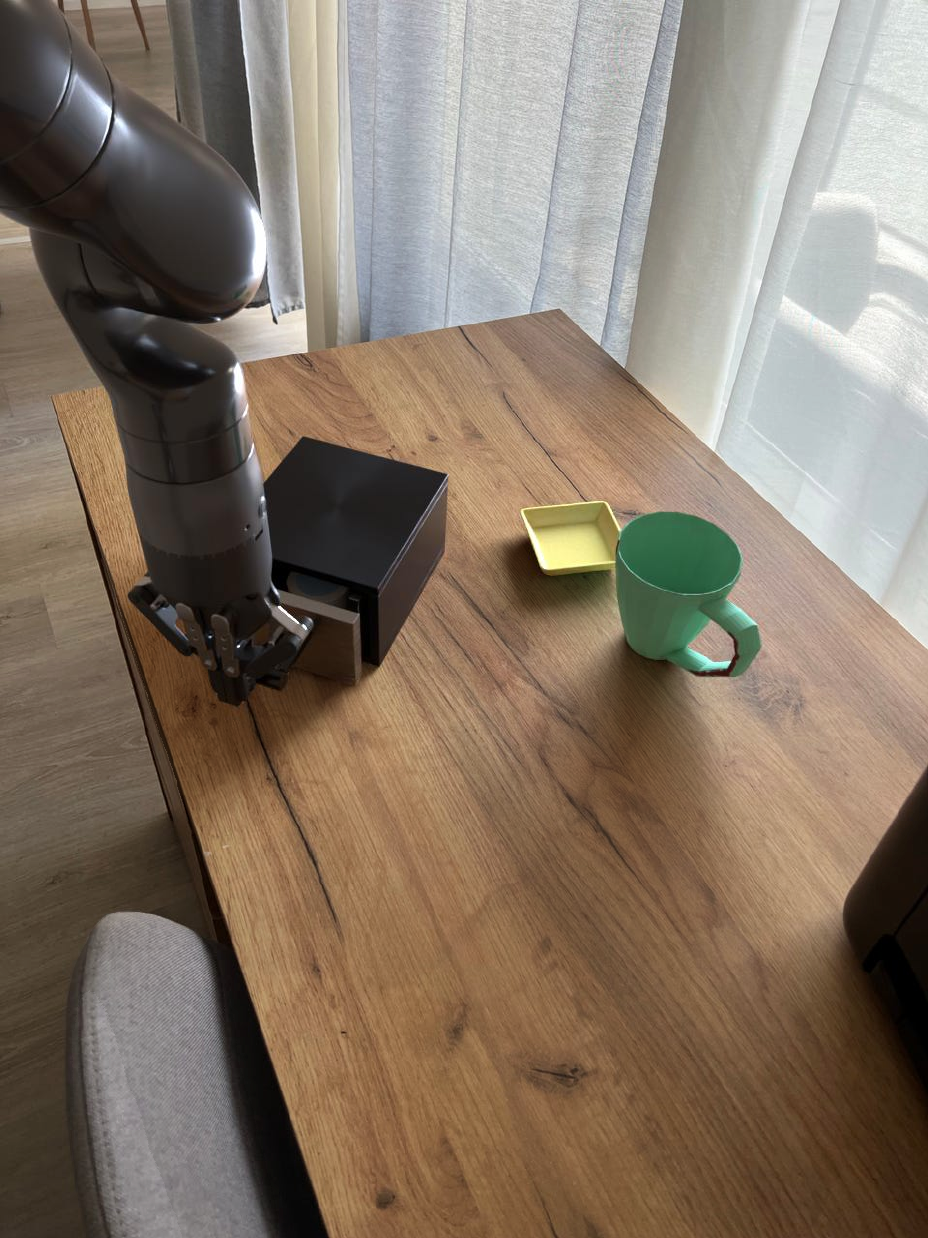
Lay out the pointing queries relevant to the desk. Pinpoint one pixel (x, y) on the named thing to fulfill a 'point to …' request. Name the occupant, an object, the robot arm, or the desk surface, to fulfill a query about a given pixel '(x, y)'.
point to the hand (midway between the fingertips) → (236, 695)
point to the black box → (359, 528)
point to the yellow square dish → (572, 537)
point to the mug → (681, 591)
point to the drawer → (321, 636)
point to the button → (318, 590)
